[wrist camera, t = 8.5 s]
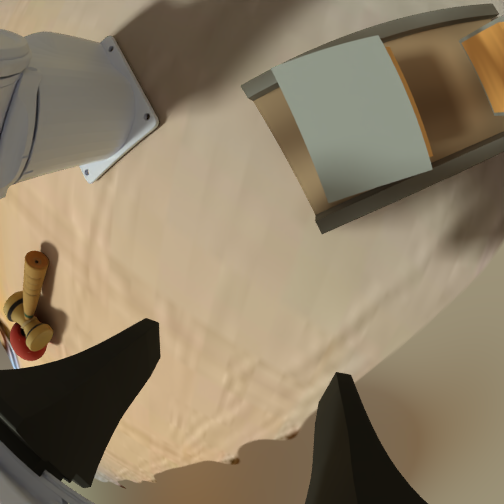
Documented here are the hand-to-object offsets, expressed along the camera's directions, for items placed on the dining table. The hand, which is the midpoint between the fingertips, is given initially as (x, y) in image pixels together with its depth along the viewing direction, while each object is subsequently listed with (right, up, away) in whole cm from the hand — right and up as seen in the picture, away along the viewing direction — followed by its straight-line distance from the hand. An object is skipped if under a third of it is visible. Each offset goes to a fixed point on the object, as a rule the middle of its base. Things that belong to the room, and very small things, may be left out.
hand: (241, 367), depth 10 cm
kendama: (-27, -2, +18) cm, 32 cm away
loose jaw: (+5, +11, +3) cm, 13 cm away
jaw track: (+10, +14, +2) cm, 17 cm away
